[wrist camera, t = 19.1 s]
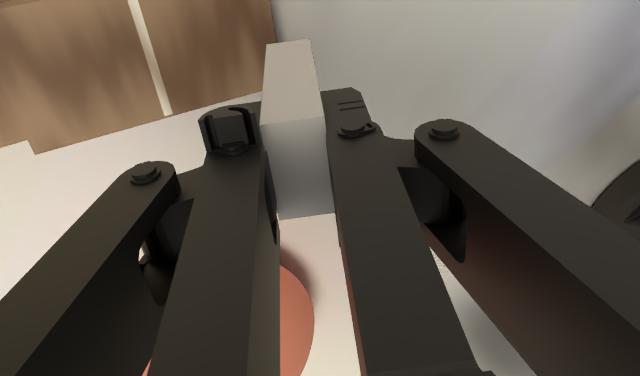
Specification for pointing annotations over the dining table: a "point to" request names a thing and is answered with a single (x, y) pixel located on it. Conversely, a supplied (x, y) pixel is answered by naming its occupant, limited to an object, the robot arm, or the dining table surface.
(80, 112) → the domino
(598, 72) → the dining table surface
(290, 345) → the sugar bowl
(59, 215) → the dining table surface
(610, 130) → the dining table surface
